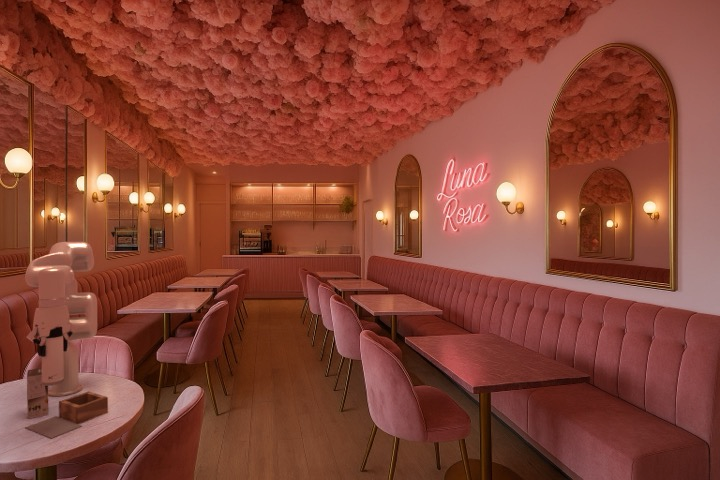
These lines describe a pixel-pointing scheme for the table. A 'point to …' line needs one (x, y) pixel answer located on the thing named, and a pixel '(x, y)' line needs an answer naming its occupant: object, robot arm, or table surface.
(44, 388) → the coffee box
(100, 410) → the frame
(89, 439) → the table surface
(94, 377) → the table surface
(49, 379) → the travel mug
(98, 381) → the table surface
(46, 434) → the rubber mat
